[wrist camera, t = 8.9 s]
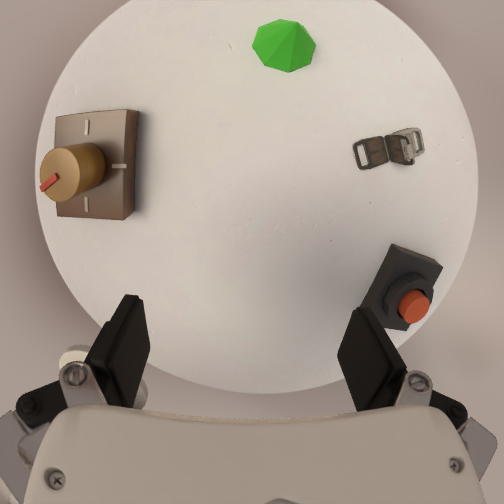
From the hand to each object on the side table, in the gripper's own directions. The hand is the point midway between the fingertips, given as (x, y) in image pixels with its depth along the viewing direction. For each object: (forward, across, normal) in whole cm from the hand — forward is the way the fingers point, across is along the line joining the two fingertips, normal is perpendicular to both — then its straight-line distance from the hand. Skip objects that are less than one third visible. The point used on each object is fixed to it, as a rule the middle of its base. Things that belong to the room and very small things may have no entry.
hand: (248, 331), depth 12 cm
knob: (+13, +15, -5) cm, 21 cm away
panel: (+16, +15, -5) cm, 23 cm away
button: (+13, -20, +7) cm, 25 cm away
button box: (+16, -20, +7) cm, 27 cm away
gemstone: (+17, -2, -17) cm, 24 cm away
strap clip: (+17, -14, -9) cm, 24 cm away
